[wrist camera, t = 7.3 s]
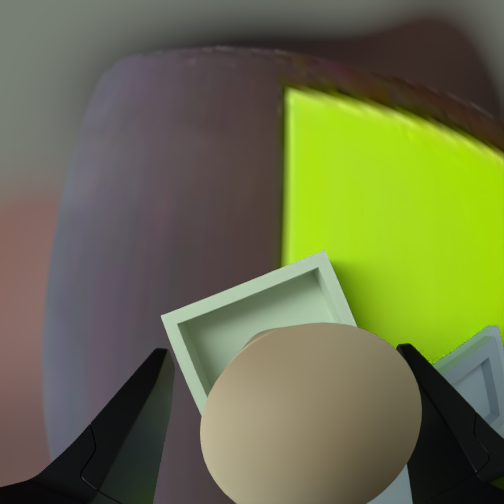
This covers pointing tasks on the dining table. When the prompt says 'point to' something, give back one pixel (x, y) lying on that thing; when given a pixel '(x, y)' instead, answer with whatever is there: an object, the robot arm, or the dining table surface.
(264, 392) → the dowel
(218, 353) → the tray
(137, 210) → the dining table surface
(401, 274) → the dining table surface
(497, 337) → the board
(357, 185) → the dining table surface
